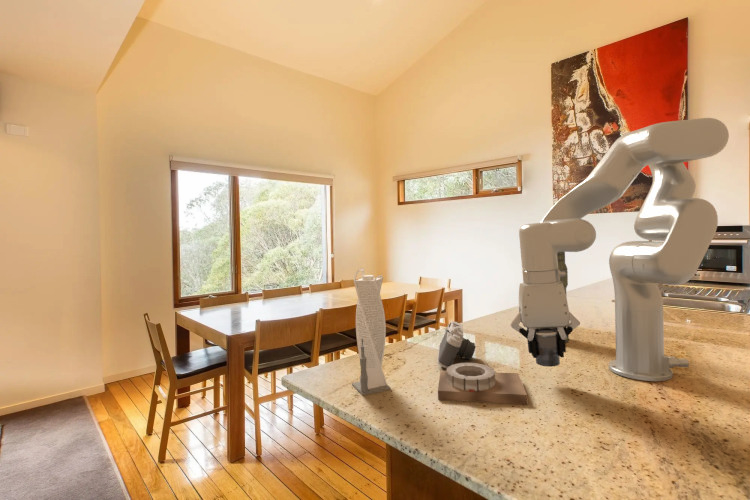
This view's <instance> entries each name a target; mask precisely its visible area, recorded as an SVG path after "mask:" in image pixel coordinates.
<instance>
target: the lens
mask: <svg viewBox="0 0 750 500" xmlns="http://www.w3.org/2000/svg"><path fill="white" fill-rule="evenodd" d="M534 340H535V341H536V350H537V357H536V358H535V363H536V365H538V366H542V367H547V368H548V367H552V368H553V367H558V366H559V365H560V364H561V362H560V356H559V347H558V330H557V328H556V327H550V328H535V332H534Z"/></svg>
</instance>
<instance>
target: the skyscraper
mask: <svg viewBox="0 0 750 500" xmlns="http://www.w3.org/2000/svg"><path fill="white" fill-rule="evenodd" d="M361 271H362V273H361V278H359V279H357V275H358V274H359V272H361ZM383 280H384V276H383V275H382V274H380V275H377V276H374V275H372V274H367V275H366V274H365V269H364V268H363V267H362V268H359V269H358V270H357V271H356V272H355V274H354V277H353V283H354V284H353V285H354V288H355V291H356V295H357V301H356V311H355V333H356V342H357V343H356V344H357V350H358V355H359V357H358V358H359V364H360V365H359V366H360V376H359V379H358V380H359V381H355V382H352V383H351V385H352V386H353V387H354V388H355V390H356V391H357V392H358V393H359V394H360V395H361V396H368V395H372V394H376V393H381V392H385V391H390V390H391V389H392V388H391V386H390V385H388V382H387V380H386V379H387V378H386V377H385V373H384V371H383V368H382V367H383V366H382V365H383V360H384V357H385V348H386V347H385V346H386V336H387V335H386V334H387V330H386V329H387V326H386V316H385V310H384V304H383V301H382V296H381V289H382V284H383Z"/></svg>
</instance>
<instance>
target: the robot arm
mask: <svg viewBox="0 0 750 500" xmlns="http://www.w3.org/2000/svg"><path fill="white" fill-rule="evenodd" d="M729 136H730V135H729V130H728V127H727V125H726V124H725V123H724V122H723V121H721V120H719V119H717V118H714V117H713V118H712V117H701V118H692V119H683V120H672V121H664V122H659V123H654V124H651V125H648V126H645V127H642V128H639V129H636V130H632V131H630V132H627V133H624V134H623V135H621V136H619V137H618V138H617V139H616V140H615V141H614V142H613V143H612V145H611V146H610V147H609V149H608V150H607V151H606V152H605V154H604V155H603V157H601V159H600V161H598V163H597V164H596V165H595V167H594V168H593V170H591V172H590V173H589V174H588V176H587V177H586V178H585V179H584V180H583V181H582V182H580V183H578V185H576V186H575V187H573V188H572V189H571V190H570V191H569V192H567V193H566V194H565V195H564V196H562V197H560V199H558V201H557V202H556V203H555V204H553V205H552V207H551V208H550V209H549V210H548V211H547V212H546V214H545V215H544V216H543V218H542V219H541V220H540V222H536V223H527V224H524V225H521V226H520V228H519V230H518V237H519V246H520V247H519V248H520V260H521V270H522V271H521V273H522V283H519V287H518V313H517V315H516V316H515V318H514V319H513V320H512V321H511V323H510V327H511V328H512V329H513V330H514V331H516V332H518V333H519V334H520V335H522V336H523V337H524V338H526V340H527V348H528V350H527V351H528V353H529V354H531V356H532V358H533V359H536V357H537V350H536V341H535V340H534V332H535V328H550V327H556V328H557V330H558V347H559V358H564V357H565V356H564V355H565V354H564V353H566V351H567V346H566V343H565V339H566V338H567V336H569V335H570V334H572V333H573V332H574V330H575V329H576V328H578V327H579V326H580V325H581V322H580V321H579V319H577V317H575V316H574V315H573V313H571V311H570V310H569V304H568V299H567V292H566V293H565V289H564V286H563V283H562V282H561V281H559V280H560V278H561V277H563V276H566V272H565V271H561V270H559V269H558V259H557V253H558V252H565V253H567V252H568V253H578V252H583V251H585V250H587V249H589V248H590V247H591V246H592V245H593V244H594V243H595V241H596V239H597V230H596V227H595V226H594V225H593V224H592V223H591V222H589V220H585V219H583V218H584V217H586V216H588V215H589V214H591V213H593V212H595V211H598V210H600V209H603V208H605V207H607V206H609V205H611V204H613V203H615V202H617V201H618V200H619V199H621V198H622V197H623V195H624V194H625V193H626V191H627V190H628V189H629V187H630V186H631V185H632V184H633V182H634V181H635V179H637V177H638V175H639V174H640V173H641V171H643V169H644V168H645V167H647V166H648V167H649V169H650V172H651V176H652V184H651V186H650V189H649V191H648V193H647V195H646V197H645V199H644V201H643V203H642V204H641V205H642V206H641V207H640V208H639V211H638V214H637V215H636V217H635V221H634V225H633V229H634V231H635V234H636V235H637V236H638V237H640V238H641V239H644V240H633V241H632V240H631V241H625V242H622V243H619V244H618V245H616V246H615V247H614V248H613V249H612V250H611V252H610V255H609V259H608V262H609V263H608V264H609V265H608V266H609V271H610V273H611V277H612V283H613V292H614V317H615V318H614V321H615V324H614V325H615V326H614V327H615V328H614V329H615V359H613V360H610V361H609V363H608V370H610V371H611V372H612V373H613V374H616V375H619V376H621V377H624V378H628V379H633V380H637V381H646V382H663V381H669V380H671V379H672V378H673V376H674V373H673V370H672V369H673V368H674V367H675V368H676V367H678V368H689V367H690V362H689V360H688V359H687V358H676V356H667V355H666V354H665V339H664V337H665V334H664V333H665V331H664V330H665V329H664V328H665V327H664V323H665V322H664V299H663V295H662V292H661V289H660V288H659V286H658V285H665V286H680V285H684V284H686V283H687V282H689V281H690V280H691V279H692V278H693V277H694V276H695V274H696V272H697V271H698V269H699V267H700V266H701V263H702V261H703V259H704V257H705V255H706V253H707V251H708V249H709V247H710V245H711V242H712V240H713V239H714V237H715V234H716V231H717V229H718V224H719V220H718V212H717V210H716V208H715V206H714V205H713V204H712V203H711V202H709V201H708V200H706V199H703V198H700V197H699V198H698V197H694V194H695V192H696V181H695V179H694V177H693V175H692V174H691V173H690V171H689V170H688V168H687V167H686V165H685V163H687V162H691V161H697V160H701V159H707V158H711V157H714V156H715V155H718V154H719V153H721V152H722V151H723V150H724V149H725V147H726V146H727V144H728V142H729V138H730V137H729ZM520 323H522V326H521V325H520ZM564 326H565V327H564ZM563 327H564V328H563ZM525 328H526V329H525Z"/></svg>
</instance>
